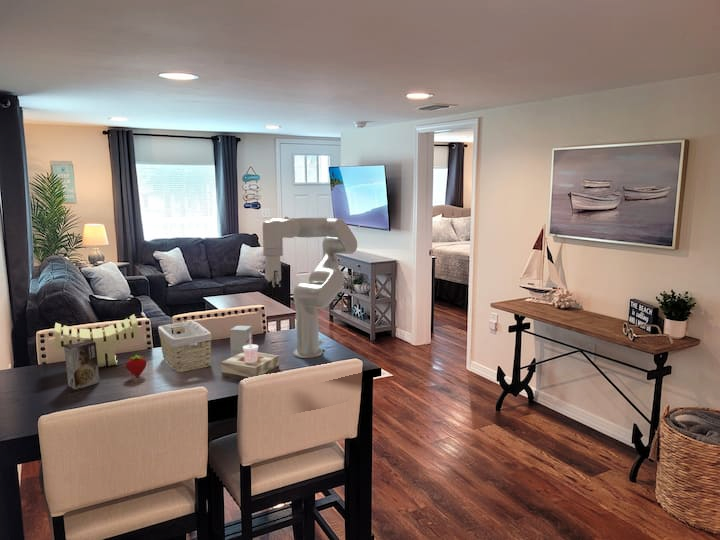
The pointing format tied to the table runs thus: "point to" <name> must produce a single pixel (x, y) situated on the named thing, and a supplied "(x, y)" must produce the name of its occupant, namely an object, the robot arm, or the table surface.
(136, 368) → the strawberry
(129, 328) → the slatted curved stool
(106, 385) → the table surface
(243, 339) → the supplement box
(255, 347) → the beverage cup
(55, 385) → the table surface
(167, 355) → the storage basket
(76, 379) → the coffee box
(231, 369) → the socket block
